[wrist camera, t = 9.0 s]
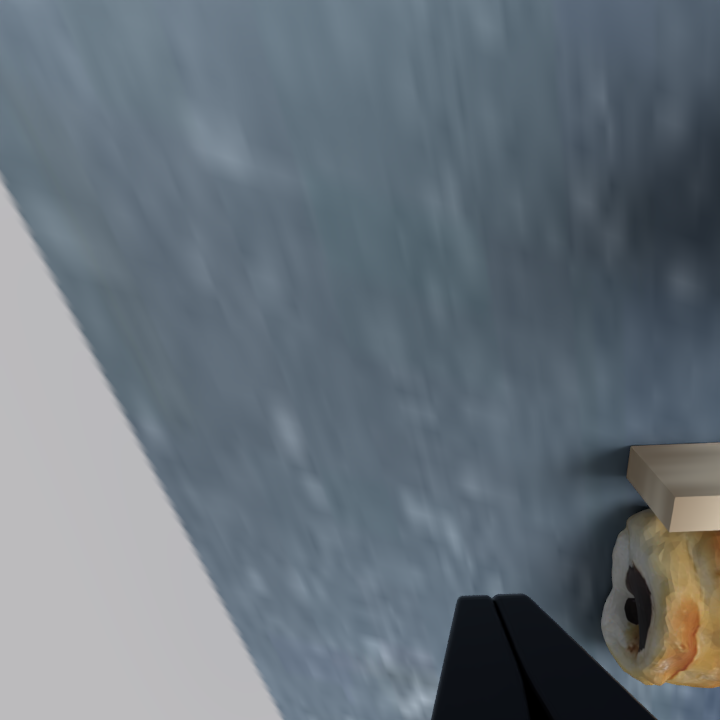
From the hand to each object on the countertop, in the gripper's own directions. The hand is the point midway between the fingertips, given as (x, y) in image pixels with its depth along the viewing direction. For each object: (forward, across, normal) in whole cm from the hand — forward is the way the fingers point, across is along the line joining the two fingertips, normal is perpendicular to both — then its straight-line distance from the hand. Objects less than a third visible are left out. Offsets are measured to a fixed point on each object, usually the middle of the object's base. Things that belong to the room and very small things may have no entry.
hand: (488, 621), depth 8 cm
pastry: (+12, -11, +10) cm, 19 cm away
